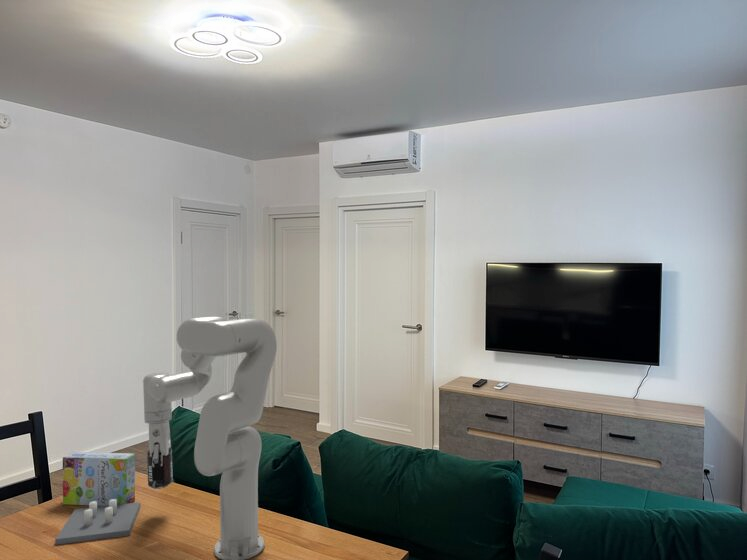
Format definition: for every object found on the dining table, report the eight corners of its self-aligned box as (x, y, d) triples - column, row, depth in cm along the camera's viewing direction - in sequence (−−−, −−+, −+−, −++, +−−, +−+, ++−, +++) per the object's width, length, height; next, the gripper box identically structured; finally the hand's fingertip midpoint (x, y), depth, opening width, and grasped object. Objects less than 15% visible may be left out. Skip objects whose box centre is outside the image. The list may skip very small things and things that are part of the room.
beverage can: (152, 492, 150) (151, 450, 150) (144, 486, 155) (143, 445, 156) (176, 485, 155) (175, 445, 155) (167, 479, 160) (166, 440, 160)
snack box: (136, 500, 165) (135, 452, 165) (126, 508, 160) (125, 459, 159) (73, 497, 167) (72, 450, 167) (61, 505, 162) (60, 456, 162)
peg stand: (129, 535, 143) (129, 515, 143) (55, 544, 138) (55, 524, 138) (140, 506, 160) (140, 489, 160) (75, 514, 156) (74, 495, 155)
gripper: (168, 421, 148) (170, 484, 148) (174, 407, 165) (176, 464, 165) (139, 424, 146) (141, 488, 146) (149, 410, 163) (151, 467, 163)
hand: (160, 475), depth 155 cm, fingers closed on beverage can, 6 cm apart
